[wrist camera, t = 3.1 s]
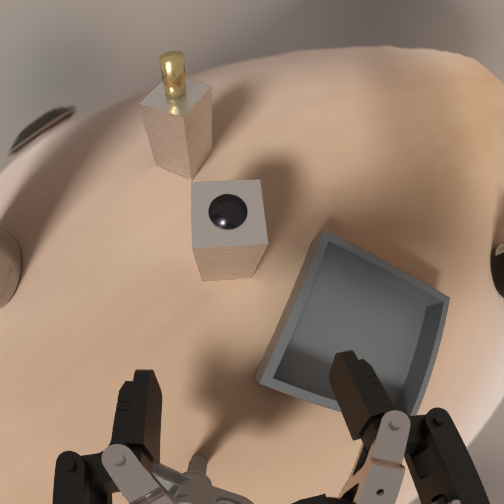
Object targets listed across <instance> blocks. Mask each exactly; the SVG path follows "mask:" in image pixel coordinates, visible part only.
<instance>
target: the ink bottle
mask: <svg viewBox="0 0 504 504" xmlns="http://www.w3.org/2000/svg"><path fill="white" fill-rule="evenodd" d="M491 266H492V275H493V280H494V283H495V286H496V289H497V291H498V292H499V294H500V295H501V296H502V297H503V298H504V242H503V243H501V244H499V245H497V246H496V247H495V248H494V250H493V252H492V259H491Z"/></svg>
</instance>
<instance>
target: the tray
mask: <svg viewBox="0 0 504 504" xmlns="http://www.w3.org/2000/svg"><path fill="white" fill-rule="evenodd" d="M449 300H450V297H448V296H446V295H444V294H443V293H441V292H439V291H438V290H436V289H434V288H433V287H431V286H429V285H427V284H426V283H424V282H422V281H420V280H419V279H417V278H415V277H413V276H411V275H410V274H408V273H406V272H404V271H402V270H401V269H399V268H397V267H395V266H393V265H391V264H390V263H388V262H386V261H384V260H382V259H380V258H378V257H377V256H375V255H373V254H371V253H369V252H367V251H365V250H363V249H361V248H359V247H357V246H356V245H354V244H352V243H350V242H348V241H346V240H344V239H342V238H340V237H338V236H336V235H334V234H332V233H330V232H328V231H326V230H324V229H323V231H322V232H321V233H320V234H319V235H318V236H317V237H316V238H315V239H314V241H313V242H312V243H311V246H310V248H309V251H308V253H307V256H306V258H305V261H304V263H303V266H302V268H301V271H300V273H299V276H298V278H297V281H296V283H295V285H294V288H293V290H292V293H291V295H290V297H289V300H288V302H287V304H286V307H285V309H284V311H283V314H282V316H281V318H280V321H279V323H278V325H277V327H276V330H275V332H274V334H273V337H272V339H271V341H270V343H269V345H268V348H267V350H266V352H265V354H264V356H263V359H262V361H261V363H260V365H259V367H258V369H257V371H256V374H255V376H254V379H255V380H256V381H257V382H258V383H259V384H261V385H264V386H267V387H269V388H272V389H274V390H277V391H280V392H282V393H285V394H288V395H290V396H293V397H296V398H299V399H302V400H305V401H308V402H311V403H314V404H317V405H320V406H323V407H326V408H329V409H333V410H336V411H339V412H341V410H340V407H339V405H338V402H337V400H336V397H335V395H334V393H333V390H332V388H331V385H330V382H329V372H330V369H331V366H332V363H333V360H334V357H335V354H336V353H339V352H344V351H349V350H353V351H354V353H355V354H356V356H357V358H358V360H360V359H364V360H365V361H367V362H368V363H369V364H370V365H371V366H372V367H373V369H374V371H375V373H376V374H377V375H376V376H378V378H379V380H380V383H382V385H383V387H384V389H385V391H386V393H387V394H388V396H389V398H390V400H391V402H392V404H393V405H394V407H395V409H396V410H397V411H401V412H403V413H405V414H406V415H407V416H416V415H417V412H418V410H419V407H420V405H421V402H422V399H423V397H424V394H425V391H426V388H427V385H428V382H429V379H430V376H431V373H432V370H433V367H434V363H435V360H436V357H437V353H438V349H439V346H440V342H441V338H442V334H443V329H444V325H445V320H446V316H447V311H448V305H449Z"/></svg>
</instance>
